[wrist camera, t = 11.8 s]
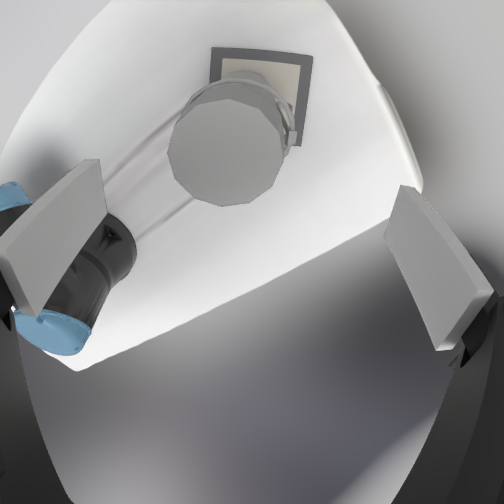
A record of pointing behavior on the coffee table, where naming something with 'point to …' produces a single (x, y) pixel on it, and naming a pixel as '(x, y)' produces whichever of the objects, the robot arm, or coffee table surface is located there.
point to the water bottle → (231, 140)
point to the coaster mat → (270, 76)
